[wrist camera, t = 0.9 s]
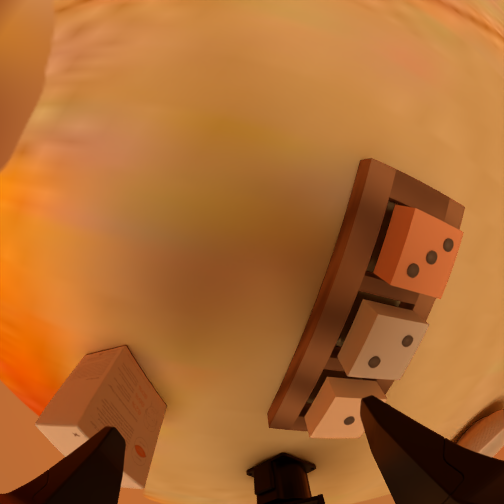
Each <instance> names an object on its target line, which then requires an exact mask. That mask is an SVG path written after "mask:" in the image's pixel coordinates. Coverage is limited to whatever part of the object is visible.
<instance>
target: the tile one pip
mask: <svg viewBox="0 0 504 504" xmlns="http://www.w3.org/2000/svg"><path fill="white" fill-rule="evenodd" d="M370 395H373V396H375V397H377V398H378V399H380V400H382V401H383V402H386V400H387V398H386V396H385V394H384V393H383V391H382V390H381V388H380V386H379V385H378V383H377V382H376V381H370V380H357V379H346V378H336V377H328V376H327V378H326V380H325V382H324V383H323V385H322V387H321V389H320V391H319V393H318V394H317V396H316V398H315V400H314V401H313V403H312V405H311V407H310V408H309V410H308V412H307V414H306V415H305V421H306V425H307V429H308V433H309V437H310V438H359V437H360V436H361V435H362V434H363V432H364V431H365V430H364V427H363V424H362V421H361V418H360V405H361V399H362V398H364V397H367V396H370Z"/></svg>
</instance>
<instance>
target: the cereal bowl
mask: <svg viewBox="0 0 504 504" xmlns="http://www.w3.org/2000/svg"><path fill="white" fill-rule="evenodd" d="M457 444H458V445H460V446H462V447H464V448H467V449H469V450H472V451H475V452H477V453H480V454H483V455H486V456H489V457H493V456H494V455H495V454H496V453H497V452H498V451H499V450H500V449H501V448H502V447H503V446H504V409H503V410H499V411H496V412H494V413H493V414H491V415H489V416H488V417H484V418H482V419H480V420H479V421H477V422H476V423H475V424H473V425H472V426H471V427H470V428H469V429H468V430H467V431H466V432H465V433H464V434H463V435H462V436H461V438H460V439H459V441H458V442H457Z"/></svg>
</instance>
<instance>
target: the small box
mask: <svg viewBox="0 0 504 504" xmlns="http://www.w3.org/2000/svg"><path fill="white" fill-rule="evenodd" d="M166 408H167V406H166V404H165V403H164V402H163V400H162V399H161V398H160V396H159V395H158V394H157V392H156V391H155V389H154V388H153V386H152V385H151V384H150V382H149V381H148V379H147V378H146V376H145V375H144V373H143V372H142V370H141V369H140V367H139V365H138V364H137V362H136V361H135V359H134V358H133V356H132V354H131V353H130V351H129V349H128V348H127V346H122V347H118V348H114V349H110V350H106V351H102V352H97V353H93V354H89V355H85V356H84V357H83V359H82V360H81V361H80V363H79V364H78V365H77V366H76V368H75V369H74V370H73V371H72V373H71V374H70V375H69V377H68V378H67V379H66V381H65V382H64V383H63V385H62V386H61V387H60V389H59V390H58V391H57V393H56V394H55V396H54V397H53V398H52V400H51V401H50V402H49V404H48V405H47V407H46V408H45V410H44V411H43V412H42V414H41V415H40V417H39V418H38V420H37V422H36V423H35V426H36V427H37V428H38V429H39V430H40V431H41V432H42V433H43V434H44V435H45V436H46V437H47V439H48V440H49V441H50V442H51V443H52V444H53V445H54V446H55V447H56V448H57V449H58V450H59V451H60V452H61V453H62V454H63V455H64V456H65V457H66V456H68V455H69V454H70V453H71V452H73V451H74V450H75V449H77V448H78V447H79V446H81V445H82V444H83V443H85V442H86V441H87V440H89V439H90V438H91V437H92V436H94V435H95V434H96V433H97V432H99V431H100V430H101V429H103V428H104V427H105V426H112V427H116V428H117V430H118V431H119V432H120V434H121V435H122V436H123V438H124V439H125V442H126V449H125V458H124V469H123V477H122V482H121V487H125V488H137V489H144V488H145V484H146V480H147V476H148V472H149V469H150V465H151V461H152V457H153V454H154V450H155V446H156V443H157V439H158V435H159V432H160V428H161V425H162V421H163V418H164V414H165V411H166Z"/></svg>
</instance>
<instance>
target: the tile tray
mask: <svg viewBox="0 0 504 504" xmlns="http://www.w3.org/2000/svg"><path fill="white" fill-rule="evenodd" d="M388 201H390V202H393V203H395V204H397V205H401V206H407V207H413V208H417V209H419V210H421V211H423V212H425V213H427V214H429V215H431V216H433V217H435V218H437V219H439V220H441V221H443V222H445V223H447V224H449V225H451V226H453V227H455V228H457V229H458V230H459V229H460V225H461V221H462V218H463V213H464V209H465V207H464V206H462V205H461V204H459V203H458V202H456V201H454V200H453V199H451V198H449V197H447V196H446V195H444V194H442V193H440V192H439V191H437V190H435V189H433V188H432V187H430V186H428V185H426V184H424V183H422V182H420V181H418V180H416V179H415V178H413V177H411V176H409V175H407V174H405V173H403V172H401V171H399V170H396V169H394V168H392V167H390V166H388V165H386V164H384V163H381V162H379V161H377V160H375V159H372V158H370V159H365V160H360V164H359V168H358V172H357V175H356V179H355V183H354V186H353V190H352V193H351V197H350V200H349V204H348V207H347V211H346V214H345V217H344V221H343V224H342V227H341V230H340V233H339V236H338V240H337V243H336V246H335V249H334V252H333V255H332V258H331V261H330V264H329V266H328V269H327V272H326V275H325V278H324V281H323V283H322V286H321V289H320V292H319V294H318V297H317V300H316V302H315V305H314V308H313V310H312V313H311V315H310V318H309V320H308V323H307V325H306V328H305V330H304V333H303V335H302V338H301V340H300V343H299V345H298V347H297V350H296V352H295V354H294V357H293V359H292V361H291V364H290V366H289V368H288V370H287V373H286V375H285V377H284V379H283V382H282V384H281V386H280V388H279V390H278V392H277V395H276V397H275V399H274V401H273V403H272V405H271V407H270V409H269V411H268V413H267V414H268V424H269V428H275V429H285V430H297V431H308V429H307V425H306V421H305V415H306V414H307V412H308V410H309V408H310V407H311V405H312V404H307V403H306V401H307V400H308V398H309V396H310V394H311V392H312V390H313V389H314V387H315V385H316V383H317V381H318V379H319V377H320V375H321V373H322V371H323V369H327V370H335V371H344V369H343V367H342V365H341V363H340V361H339V359H338V357H337V356H338V354H339V352H340V350H341V348H342V347H336V346H335V344H336V342H337V340H338V338H339V336H340V333H341V331H342V329H343V327H344V324H345V322H346V320H347V317H348V315H349V313H350V310H351V308H352V305H353V303H354V301H355V298H356V296H357V293H358V291H361V292H365V293H369V294H373V295H377V296H381V297H385V298H389V299H393V300H398V301H401V303H400V306H399V308H404V309H408V310H412V311H414V312H415V313H416V314H417V315H418V316H420V317H421V318H422V319H423V320H425V321H426V320H427V317H428V315H429V313H430V311H431V308H432V306H433V304H434V301H435V299H436V298H435V297H431V296H428V295H424V294H421V293H417V292H414V291H410V290H406V289H403V288H399V287H396V286H392V285H389V284H388V283H387V282H385V281H384V280H383V279H381V278H380V277H378V276H377V275H376V274H374V273H372V272H368V271H366V269H367V266H368V264H369V261H370V258H371V255H372V252H373V249H374V246H375V243H376V240H377V237H378V234H379V231H380V227H381V224H382V221H383V218H384V214H385V211H386V207H387V204H388ZM344 372H345V371H344ZM363 380H370V381H376V382H377V383H378V385H379V386H380V388H381V390H382V391H383V393H384V394H386V393H387V391H388V390H389V388H390V386H391V385H392V383H393V382H394V380H388V379H372V378H363Z"/></svg>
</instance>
